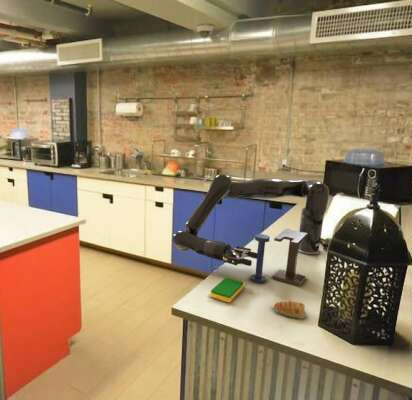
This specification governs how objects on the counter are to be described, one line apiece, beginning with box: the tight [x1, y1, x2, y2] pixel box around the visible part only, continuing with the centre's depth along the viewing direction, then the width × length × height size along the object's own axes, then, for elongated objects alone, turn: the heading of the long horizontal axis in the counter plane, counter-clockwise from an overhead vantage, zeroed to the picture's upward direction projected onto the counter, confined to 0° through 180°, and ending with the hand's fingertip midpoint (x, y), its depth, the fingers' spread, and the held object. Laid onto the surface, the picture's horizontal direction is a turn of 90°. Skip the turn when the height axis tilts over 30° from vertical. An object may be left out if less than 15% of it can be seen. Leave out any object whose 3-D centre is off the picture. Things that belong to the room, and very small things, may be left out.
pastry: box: [272, 300, 306, 320], centre depth 121 cm, size 9×7×4 cm
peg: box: [250, 233, 271, 284], centre depth 142 cm, size 6×6×18 cm
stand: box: [272, 228, 308, 287], centre depth 140 cm, size 15×10×19 cm, turn 141°
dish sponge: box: [210, 277, 245, 303], centre depth 134 cm, size 7×14×2 cm, turn 143°
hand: (255, 259), depth 143 cm, fingers open, 8 cm apart
